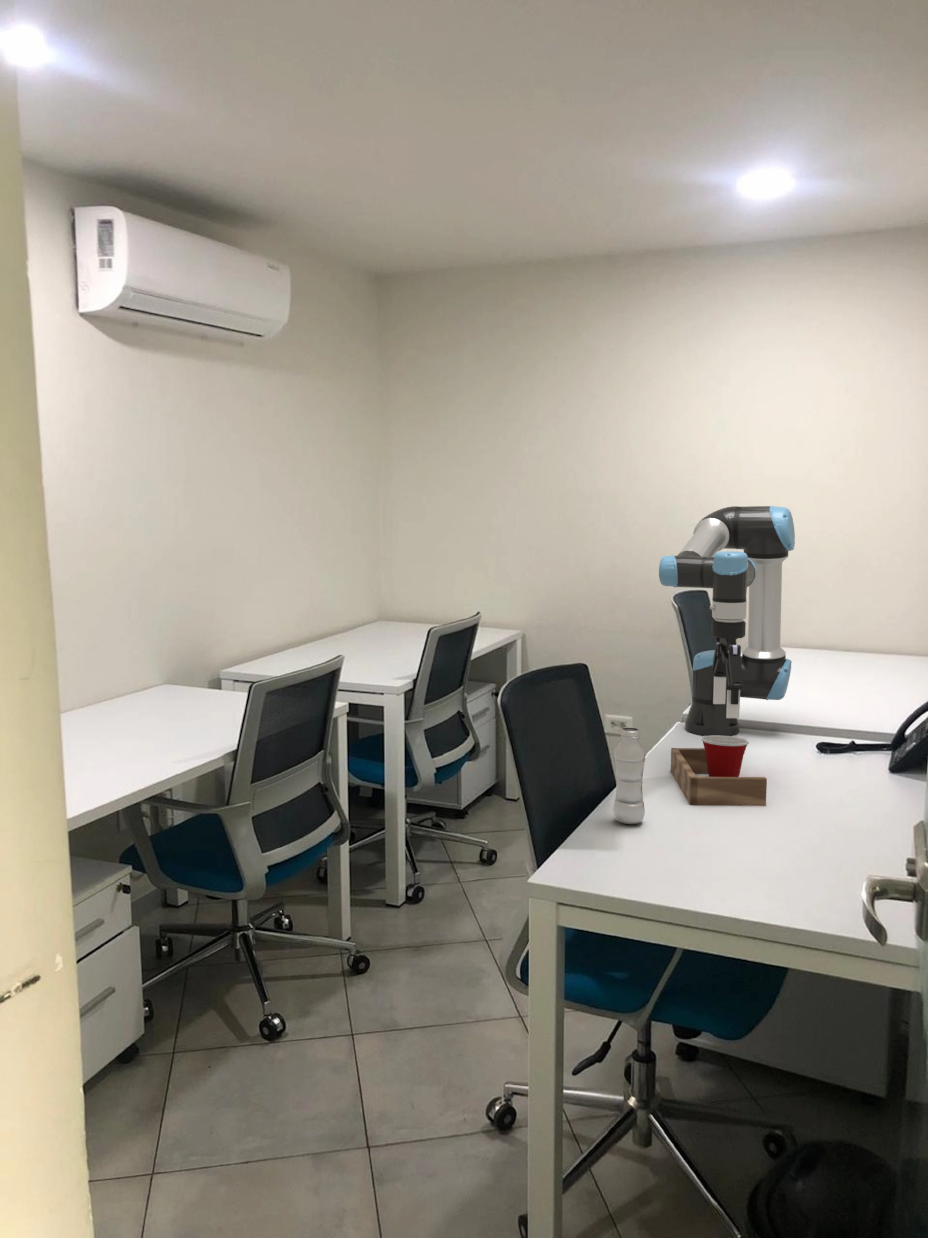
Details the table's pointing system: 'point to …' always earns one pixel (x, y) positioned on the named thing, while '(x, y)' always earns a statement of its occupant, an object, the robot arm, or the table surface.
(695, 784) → the box
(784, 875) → the table surface
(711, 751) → the plastic cup
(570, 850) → the table surface
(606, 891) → the table surface
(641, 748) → the plastic bottle
